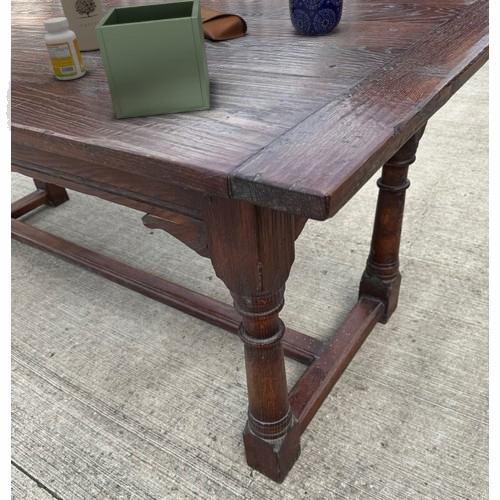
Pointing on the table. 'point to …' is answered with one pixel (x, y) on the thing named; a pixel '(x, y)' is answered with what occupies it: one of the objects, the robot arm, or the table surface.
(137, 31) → the bin
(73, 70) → the supplement bottle
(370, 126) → the table surface
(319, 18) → the planter
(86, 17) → the travel mug
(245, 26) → the sunglasses case
